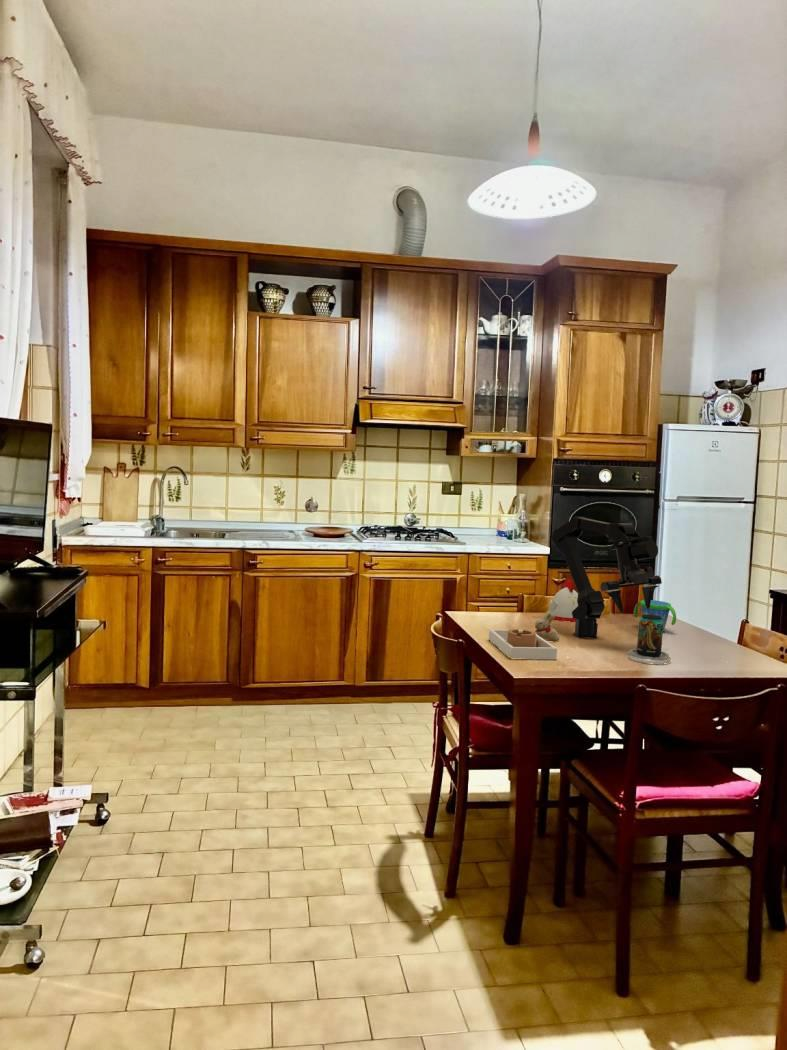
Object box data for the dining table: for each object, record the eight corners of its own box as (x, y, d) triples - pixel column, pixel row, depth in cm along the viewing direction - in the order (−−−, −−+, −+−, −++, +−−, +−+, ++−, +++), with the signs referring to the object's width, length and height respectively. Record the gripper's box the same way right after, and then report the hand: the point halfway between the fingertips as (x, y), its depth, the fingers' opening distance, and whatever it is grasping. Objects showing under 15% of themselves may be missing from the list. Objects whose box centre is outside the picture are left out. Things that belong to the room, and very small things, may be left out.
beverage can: (637, 657, 231) (641, 617, 230) (635, 651, 237) (638, 613, 236) (662, 659, 229) (665, 619, 228) (658, 653, 236) (662, 615, 235)
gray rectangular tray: (510, 659, 225) (511, 647, 224) (488, 640, 248) (489, 629, 248) (556, 660, 227) (557, 648, 227) (530, 640, 250) (530, 630, 250)
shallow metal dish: (638, 664, 226) (639, 658, 226) (620, 654, 238) (620, 647, 238) (678, 665, 228) (678, 658, 228) (657, 654, 240) (658, 648, 240)
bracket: (533, 659, 227) (534, 636, 227) (505, 656, 229) (506, 633, 229) (536, 646, 245) (538, 624, 244) (510, 643, 247) (511, 622, 246)
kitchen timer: (556, 622, 284) (559, 582, 283) (541, 614, 298) (544, 576, 296) (591, 622, 287) (594, 582, 286) (575, 614, 301) (577, 576, 299)
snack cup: (681, 633, 275) (683, 605, 274) (663, 636, 269) (665, 607, 268) (644, 624, 287) (646, 597, 287) (626, 627, 281) (628, 599, 280)
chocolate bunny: (535, 637, 256) (537, 607, 255) (559, 640, 254) (561, 610, 253) (533, 641, 251) (535, 610, 250) (558, 643, 249) (560, 613, 248)
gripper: (612, 562, 238) (620, 613, 236) (666, 556, 241) (675, 606, 239) (596, 565, 248) (603, 614, 247) (648, 559, 252) (656, 607, 250)
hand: (635, 610), depth 246 cm, fingers open, 9 cm apart
